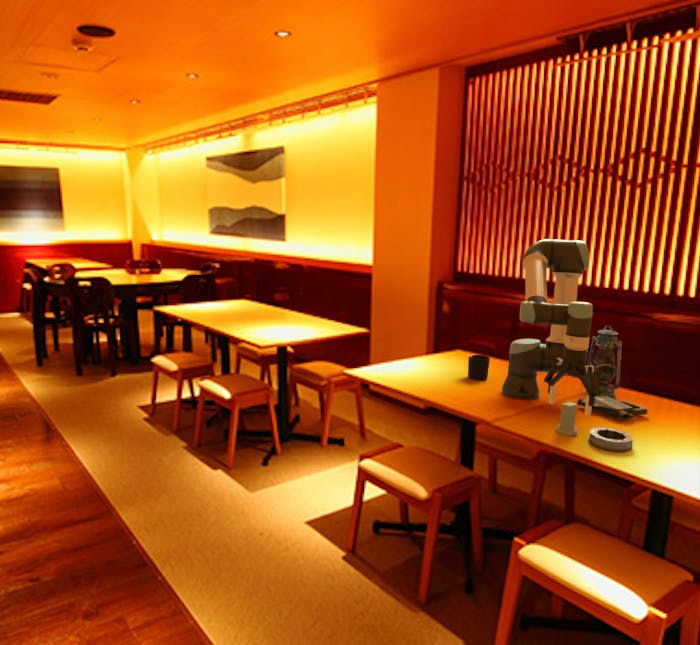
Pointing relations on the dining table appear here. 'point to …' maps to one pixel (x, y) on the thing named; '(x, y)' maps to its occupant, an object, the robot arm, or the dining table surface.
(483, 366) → the pen holder
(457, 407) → the dining table surface
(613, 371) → the lantern
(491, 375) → the dining table surface
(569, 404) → the toggle switch lever
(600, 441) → the barrel ring
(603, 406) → the camcorder
